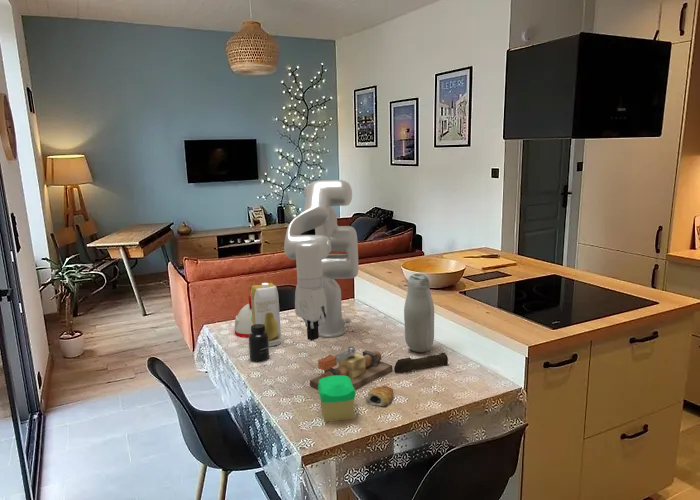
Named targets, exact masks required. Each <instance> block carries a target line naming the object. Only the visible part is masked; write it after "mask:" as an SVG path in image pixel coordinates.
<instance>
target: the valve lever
mask: <svg viewBox="0 0 700 500" xmlns="http://www.w3.org/2000/svg"><path fill="white" fill-rule="evenodd" d="M355 353H356V347H355V346H348V347H347V350H344V351H343V352H341V353H340V352H339V353H338V354H336V355H331V354H330V355H326V356H324V357H322V358H319V359H318V360H317V366H318V367H317V368H318V369H319V370H322V371H326V370H328V369H330V368H334V367H337V366H338V364H337V363H338V362H339V361H341V360H343V359H346V358H348V357H354V354H355Z"/></svg>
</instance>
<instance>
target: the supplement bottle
mask: <svg viewBox="0 0 700 500" xmlns="http://www.w3.org/2000/svg"><path fill="white" fill-rule="evenodd" d="M251 332H252V333H251V334H250V335H249V338H248V351H249V359H250V361H252V362H255V363H259V362H265V361H267V360H268V359H270V346H269V340H268V334H267V333H266V332H265V325H263V324H255V325H252V326H251Z"/></svg>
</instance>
